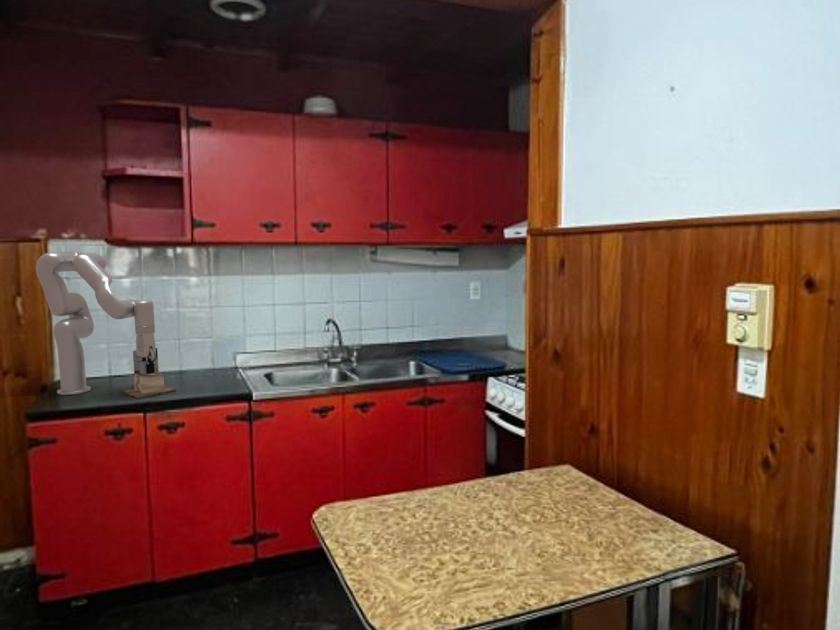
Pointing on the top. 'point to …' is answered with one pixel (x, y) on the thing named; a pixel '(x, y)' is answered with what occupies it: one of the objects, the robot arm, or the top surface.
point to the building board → (139, 395)
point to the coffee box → (137, 359)
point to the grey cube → (143, 367)
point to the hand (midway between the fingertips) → (148, 371)
